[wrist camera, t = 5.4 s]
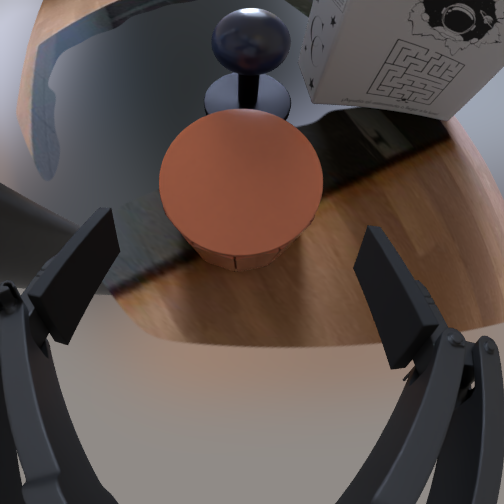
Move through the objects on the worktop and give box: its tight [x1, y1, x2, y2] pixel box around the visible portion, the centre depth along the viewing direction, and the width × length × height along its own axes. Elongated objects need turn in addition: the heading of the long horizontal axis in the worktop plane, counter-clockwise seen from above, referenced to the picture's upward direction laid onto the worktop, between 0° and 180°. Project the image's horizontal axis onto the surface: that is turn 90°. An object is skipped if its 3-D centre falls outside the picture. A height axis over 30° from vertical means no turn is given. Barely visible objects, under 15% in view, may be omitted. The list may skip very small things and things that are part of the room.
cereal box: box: [298, 0, 504, 121], centre depth 15 cm, size 22×8×25 cm, turn 97°
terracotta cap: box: [159, 109, 323, 272], centre depth 20 cm, size 10×10×8 cm
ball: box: [212, 8, 291, 76], centre depth 17 cm, size 6×6×6 cm
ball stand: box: [204, 73, 291, 121], centre depth 23 cm, size 9×9×6 cm
